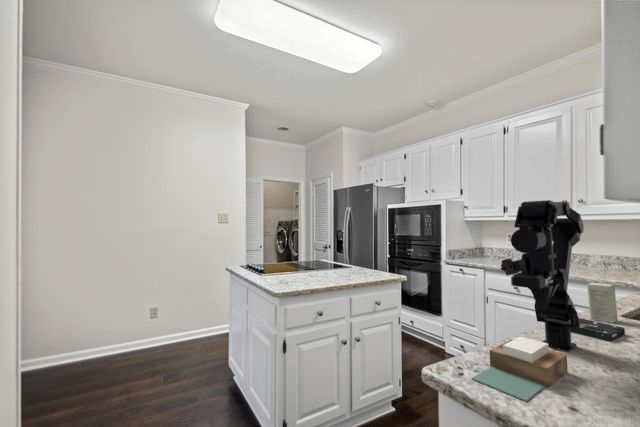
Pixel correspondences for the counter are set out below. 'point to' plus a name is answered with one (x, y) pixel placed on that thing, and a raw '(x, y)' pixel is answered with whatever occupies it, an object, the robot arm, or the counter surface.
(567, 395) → the counter surface
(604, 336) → the disk drive
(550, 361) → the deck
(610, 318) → the skincare box
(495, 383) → the mat
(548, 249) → the robot arm
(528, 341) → the cream rectangular block
